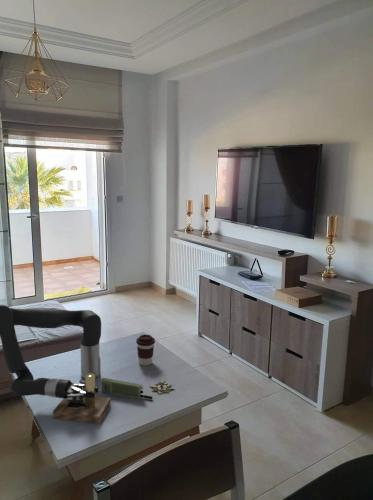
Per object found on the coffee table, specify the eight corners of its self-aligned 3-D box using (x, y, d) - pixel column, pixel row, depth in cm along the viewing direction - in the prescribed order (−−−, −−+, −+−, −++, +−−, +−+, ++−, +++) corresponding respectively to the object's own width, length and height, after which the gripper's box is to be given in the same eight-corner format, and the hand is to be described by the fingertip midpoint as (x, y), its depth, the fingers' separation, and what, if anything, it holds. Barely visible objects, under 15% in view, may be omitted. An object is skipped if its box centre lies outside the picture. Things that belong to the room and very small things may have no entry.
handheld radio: (104, 389, 191) (153, 398, 185) (101, 393, 188) (151, 402, 182) (103, 376, 190) (153, 385, 183) (100, 380, 187) (151, 389, 180)
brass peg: (94, 408, 175) (94, 372, 172) (96, 414, 171) (96, 377, 168) (84, 410, 173) (83, 374, 170) (85, 416, 169) (85, 379, 166)
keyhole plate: (53, 418, 167) (52, 411, 166) (67, 399, 181) (67, 393, 180) (99, 423, 164) (99, 416, 164) (110, 404, 178) (110, 398, 177)
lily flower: (144, 387, 195) (145, 378, 194) (165, 380, 202) (165, 372, 201) (158, 398, 185) (158, 389, 184) (179, 391, 192) (179, 382, 191)
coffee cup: (144, 356, 225) (144, 331, 222) (158, 362, 220) (158, 336, 217) (132, 363, 217) (132, 337, 215) (146, 368, 212) (146, 342, 209)
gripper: (50, 388, 165) (90, 393, 162) (65, 372, 178) (102, 376, 176) (50, 405, 166) (90, 410, 164) (65, 387, 180) (102, 391, 178)
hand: (96, 392), depth 170 cm, fingers closed on brass peg, 4 cm apart
